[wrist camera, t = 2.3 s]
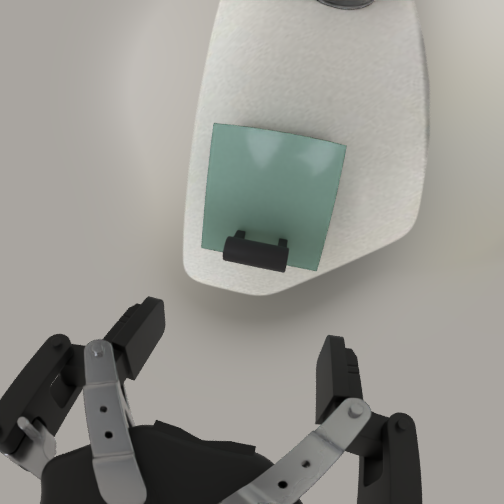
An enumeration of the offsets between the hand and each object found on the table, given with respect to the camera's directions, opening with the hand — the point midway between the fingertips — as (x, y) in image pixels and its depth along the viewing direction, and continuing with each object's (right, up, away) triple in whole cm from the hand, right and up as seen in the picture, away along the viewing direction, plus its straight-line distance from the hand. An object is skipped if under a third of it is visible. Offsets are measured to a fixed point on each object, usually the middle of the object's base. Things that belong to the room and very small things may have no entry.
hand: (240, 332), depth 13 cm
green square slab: (+2, +8, +9) cm, 13 cm away
